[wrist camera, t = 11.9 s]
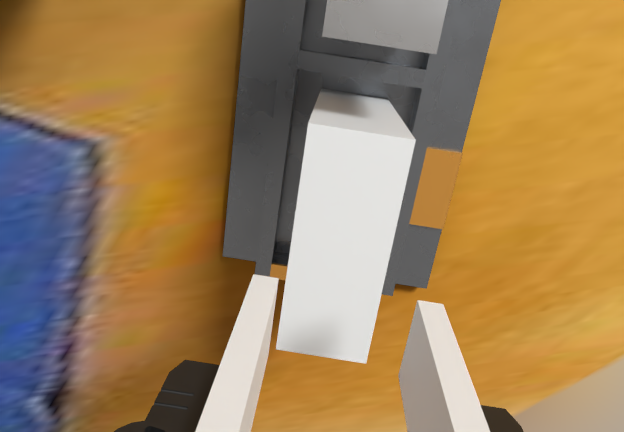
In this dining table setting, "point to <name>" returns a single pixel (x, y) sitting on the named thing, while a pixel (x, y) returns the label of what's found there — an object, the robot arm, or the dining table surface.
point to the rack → (358, 80)
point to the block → (344, 225)
